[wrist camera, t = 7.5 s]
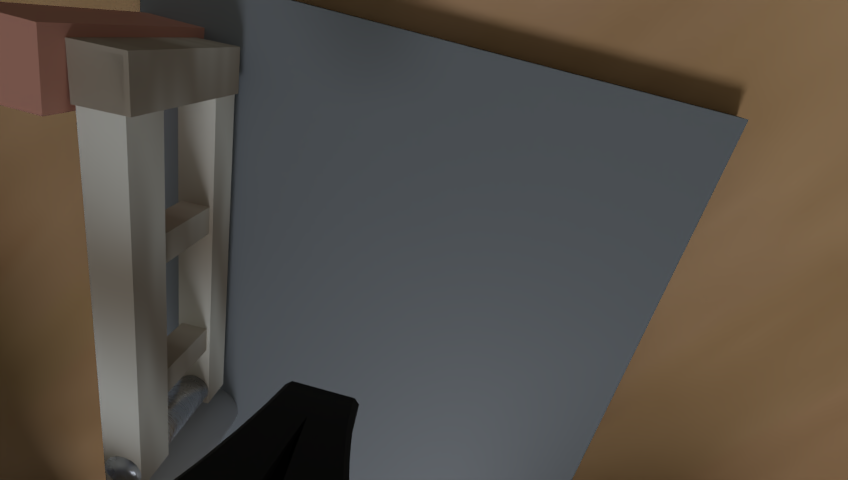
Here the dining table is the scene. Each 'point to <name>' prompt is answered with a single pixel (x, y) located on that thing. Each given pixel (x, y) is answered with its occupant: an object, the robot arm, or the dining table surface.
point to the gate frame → (417, 229)
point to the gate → (154, 231)
